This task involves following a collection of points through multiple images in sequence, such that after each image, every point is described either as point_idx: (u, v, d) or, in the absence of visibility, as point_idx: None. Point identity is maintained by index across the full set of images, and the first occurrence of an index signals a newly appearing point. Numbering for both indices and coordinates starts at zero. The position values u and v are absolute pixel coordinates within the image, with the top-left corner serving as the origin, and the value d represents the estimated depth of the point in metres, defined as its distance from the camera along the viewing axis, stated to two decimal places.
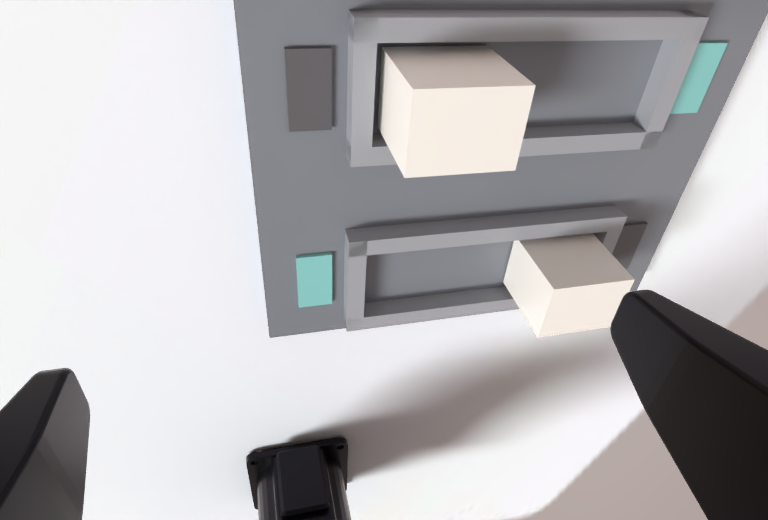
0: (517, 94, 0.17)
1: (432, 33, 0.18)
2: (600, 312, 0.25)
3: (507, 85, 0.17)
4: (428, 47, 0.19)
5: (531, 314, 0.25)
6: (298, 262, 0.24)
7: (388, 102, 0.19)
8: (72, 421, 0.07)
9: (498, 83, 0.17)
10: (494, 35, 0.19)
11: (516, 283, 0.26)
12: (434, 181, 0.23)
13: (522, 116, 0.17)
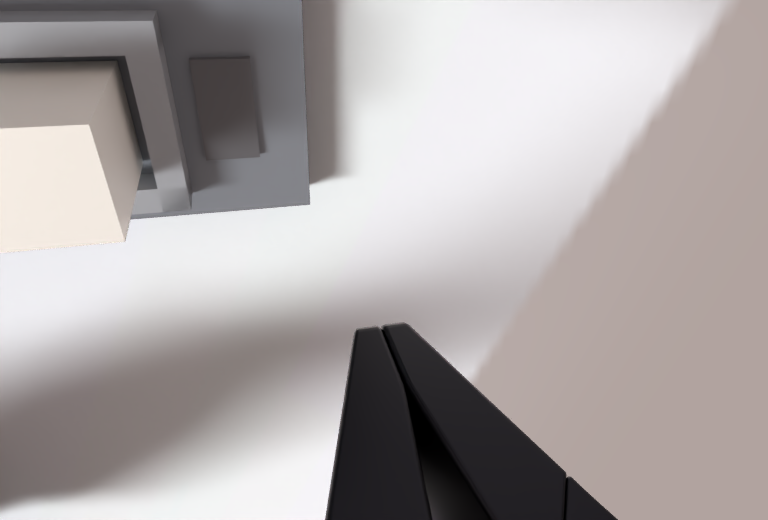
0: None
1: None
2: (60, 204, 0.12)
3: None
4: None
5: None
6: None
7: None
8: None
9: None
10: None
11: None
12: None
13: None
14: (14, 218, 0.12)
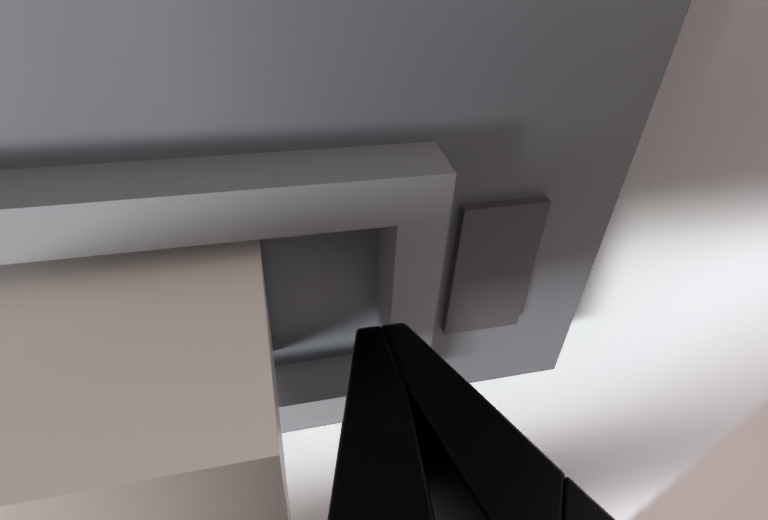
0: None
1: None
2: None
3: None
4: None
5: None
6: None
7: None
8: None
9: None
10: None
11: None
12: None
13: None
14: None
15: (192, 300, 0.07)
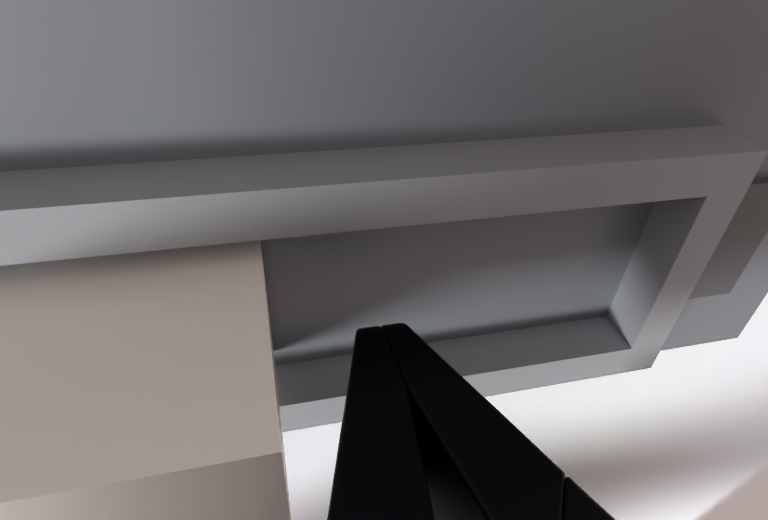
0: None
1: None
2: None
3: None
4: None
5: None
6: None
7: None
8: None
9: None
10: None
11: None
12: None
13: None
14: None
15: (195, 300, 0.07)
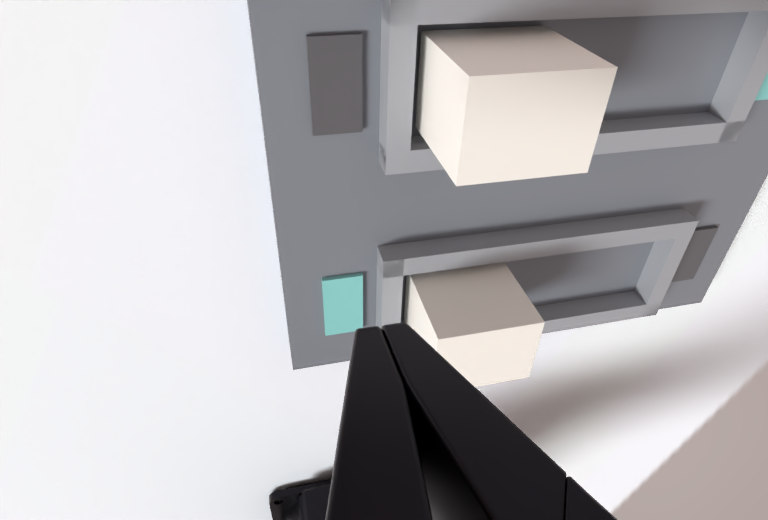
0: (595, 79, 0.14)
1: (483, 11, 0.15)
2: (508, 362, 0.20)
3: (583, 68, 0.13)
4: (476, 29, 0.16)
5: None
6: (324, 285, 0.21)
7: (431, 96, 0.16)
8: None
9: (571, 66, 0.14)
10: (556, 11, 0.15)
11: (412, 325, 0.22)
12: (479, 188, 0.20)
13: (599, 106, 0.14)
14: (482, 370, 0.20)
15: (494, 282, 0.21)
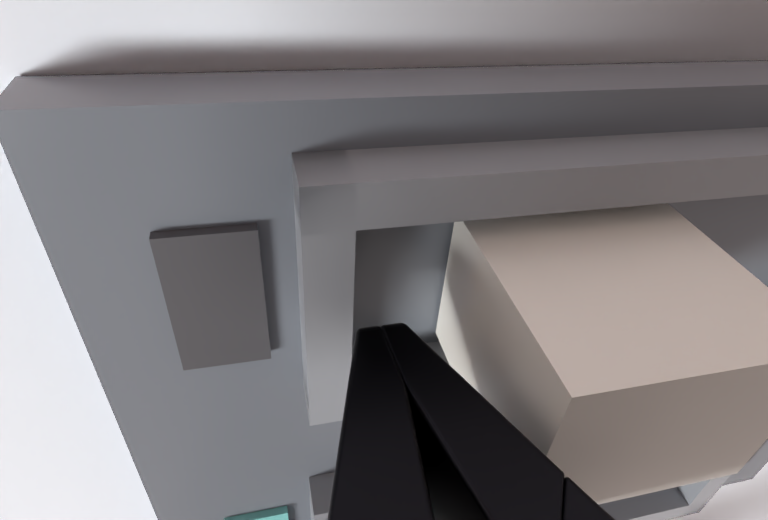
0: None
1: (480, 203, 0.08)
2: None
3: None
4: None
5: None
6: None
7: (470, 327, 0.09)
8: None
9: (757, 347, 0.07)
10: (611, 197, 0.09)
11: None
12: None
13: None
14: None
15: None
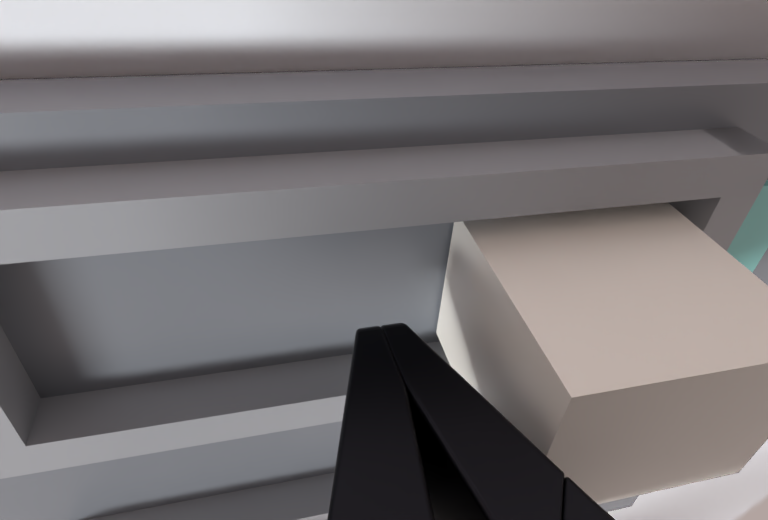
0: None
1: (75, 238, 0.07)
2: None
3: None
4: None
5: None
6: None
7: (471, 327, 0.09)
8: None
9: (757, 347, 0.07)
10: (257, 228, 0.07)
11: None
12: (230, 441, 0.12)
13: None
14: None
15: None
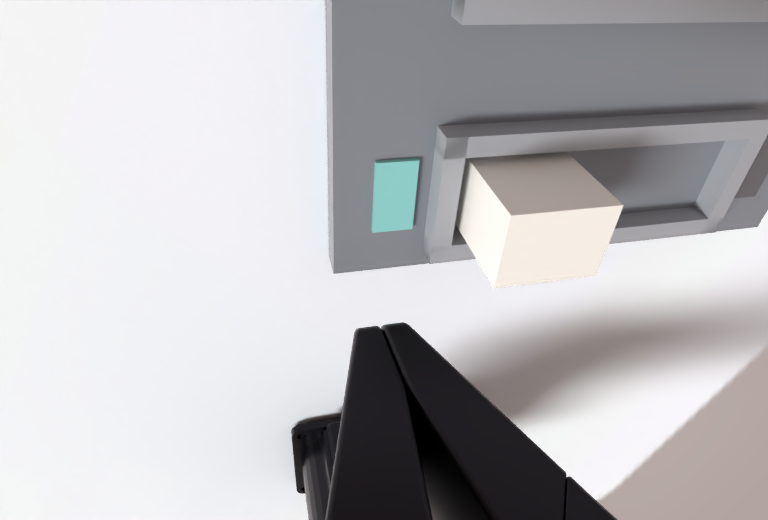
0: None
1: None
2: (578, 253, 0.18)
3: None
4: None
5: (486, 258, 0.19)
6: (377, 169, 0.19)
7: None
8: None
9: None
10: None
11: (469, 220, 0.20)
12: (552, 62, 0.18)
13: None
14: (550, 262, 0.18)
15: (562, 170, 0.19)
